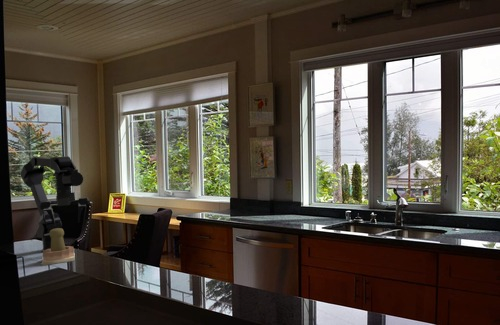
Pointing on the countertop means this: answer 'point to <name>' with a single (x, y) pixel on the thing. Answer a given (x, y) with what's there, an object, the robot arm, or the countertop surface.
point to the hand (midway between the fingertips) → (66, 223)
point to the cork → (57, 239)
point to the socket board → (58, 256)
